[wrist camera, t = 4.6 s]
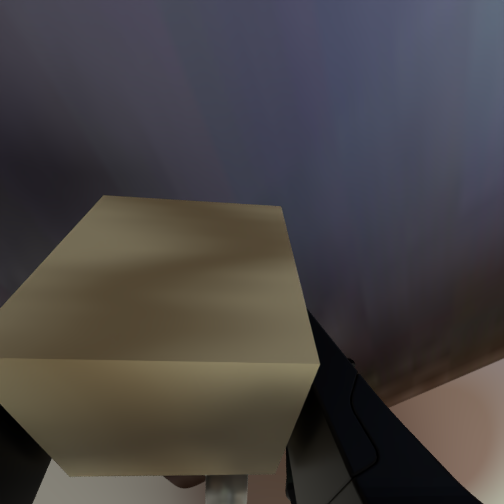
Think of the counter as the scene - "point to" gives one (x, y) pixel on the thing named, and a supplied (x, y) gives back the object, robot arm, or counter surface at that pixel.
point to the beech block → (161, 341)
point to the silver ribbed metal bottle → (226, 489)
